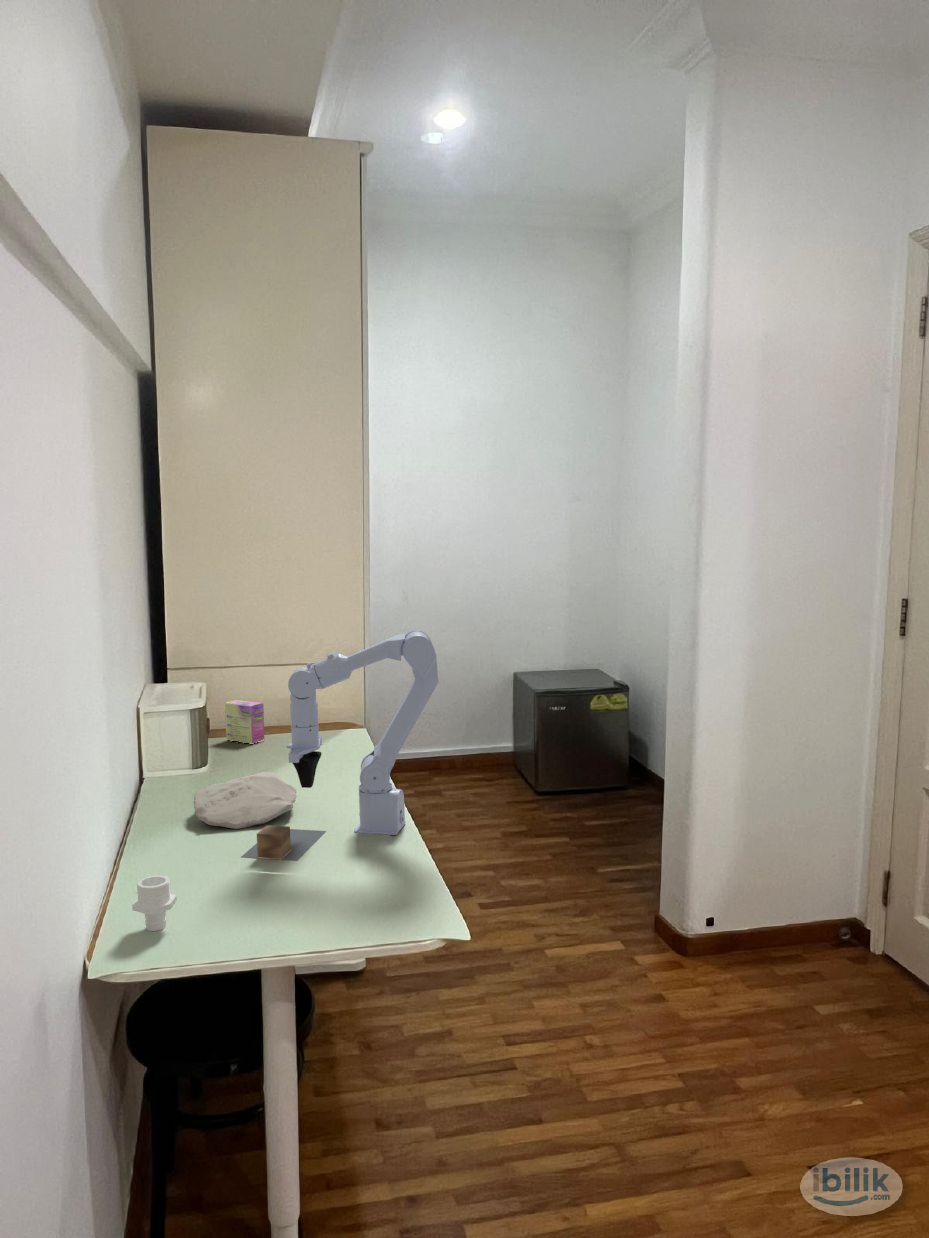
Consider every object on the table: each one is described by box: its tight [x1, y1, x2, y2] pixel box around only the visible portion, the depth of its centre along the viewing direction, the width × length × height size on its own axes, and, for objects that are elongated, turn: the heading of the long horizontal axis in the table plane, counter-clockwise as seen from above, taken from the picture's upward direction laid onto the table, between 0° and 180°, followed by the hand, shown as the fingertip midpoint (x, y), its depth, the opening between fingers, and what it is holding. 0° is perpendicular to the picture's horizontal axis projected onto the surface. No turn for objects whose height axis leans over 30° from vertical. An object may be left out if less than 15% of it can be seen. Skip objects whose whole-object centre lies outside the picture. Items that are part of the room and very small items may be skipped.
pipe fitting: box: [131, 875, 178, 932], centre depth 157 cm, size 6×7×8 cm
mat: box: [240, 828, 327, 862], centre depth 194 cm, size 12×17×1 cm
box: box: [224, 699, 265, 744], centre depth 281 cm, size 10×6×12 cm, turn 60°
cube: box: [256, 824, 291, 861], centre depth 188 cm, size 5×5×5 cm
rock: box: [193, 771, 297, 830], centre depth 218 cm, size 8×23×30 cm
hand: (307, 786), depth 201 cm, fingers closed
